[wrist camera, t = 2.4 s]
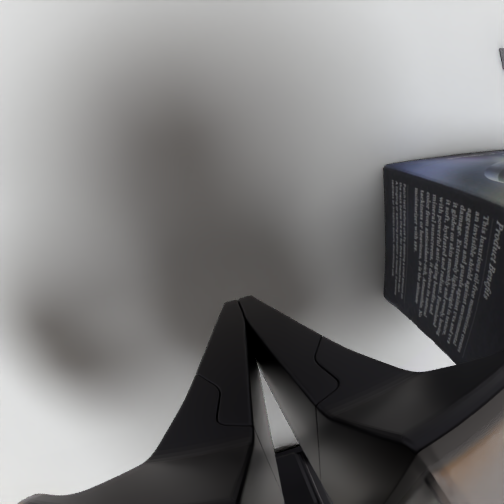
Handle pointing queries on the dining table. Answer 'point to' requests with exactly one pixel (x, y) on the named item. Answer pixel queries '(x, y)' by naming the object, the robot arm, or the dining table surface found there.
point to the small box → (448, 250)
